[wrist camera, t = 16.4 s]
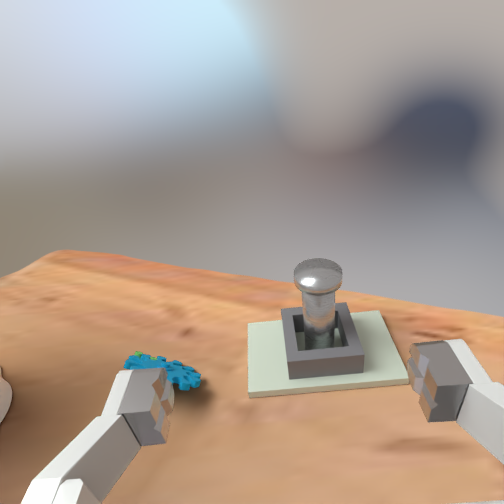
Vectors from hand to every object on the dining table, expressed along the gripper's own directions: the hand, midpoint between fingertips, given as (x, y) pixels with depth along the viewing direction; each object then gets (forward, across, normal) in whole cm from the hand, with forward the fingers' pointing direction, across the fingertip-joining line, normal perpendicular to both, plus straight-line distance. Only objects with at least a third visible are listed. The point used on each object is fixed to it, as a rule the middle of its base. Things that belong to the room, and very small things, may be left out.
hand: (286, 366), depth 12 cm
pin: (+25, +5, -29) cm, 38 cm away
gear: (+22, -16, -30) cm, 41 cm away
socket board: (+25, +5, -30) cm, 39 cm away
